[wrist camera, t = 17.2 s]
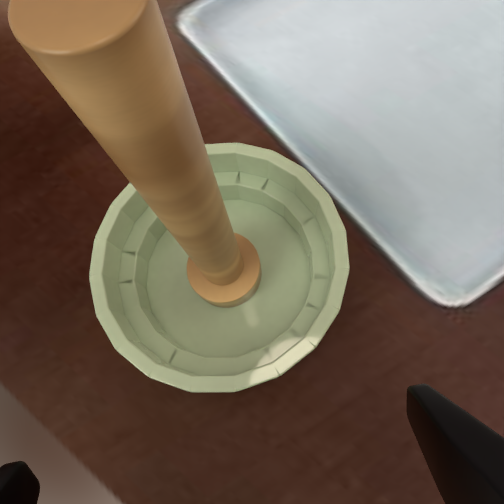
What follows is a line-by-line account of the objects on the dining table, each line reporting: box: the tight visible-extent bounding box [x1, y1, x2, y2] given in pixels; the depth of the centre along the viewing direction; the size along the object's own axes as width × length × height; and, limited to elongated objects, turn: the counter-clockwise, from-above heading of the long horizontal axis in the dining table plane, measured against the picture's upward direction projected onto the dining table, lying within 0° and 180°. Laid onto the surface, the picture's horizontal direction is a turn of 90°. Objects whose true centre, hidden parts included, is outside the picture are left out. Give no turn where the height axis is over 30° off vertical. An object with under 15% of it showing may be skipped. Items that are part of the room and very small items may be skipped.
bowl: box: [89, 143, 350, 392], centre depth 17 cm, size 11×11×4 cm
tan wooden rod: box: [8, 0, 262, 308], centre depth 12 cm, size 4×4×14 cm
